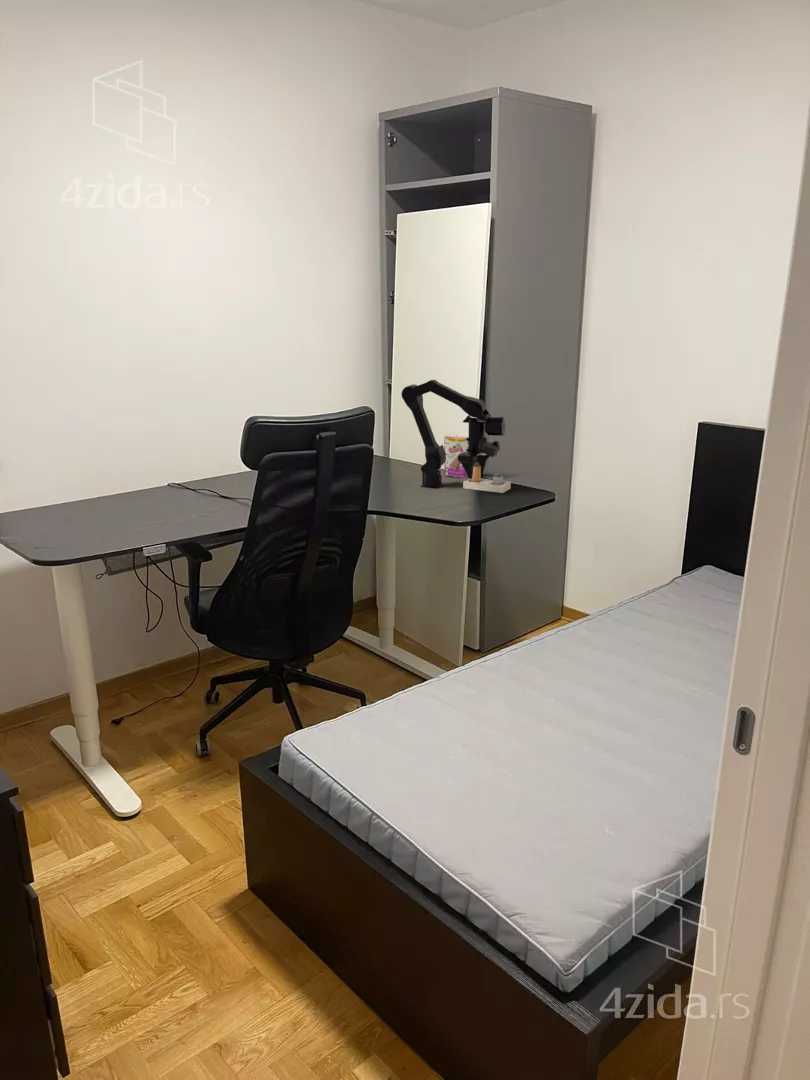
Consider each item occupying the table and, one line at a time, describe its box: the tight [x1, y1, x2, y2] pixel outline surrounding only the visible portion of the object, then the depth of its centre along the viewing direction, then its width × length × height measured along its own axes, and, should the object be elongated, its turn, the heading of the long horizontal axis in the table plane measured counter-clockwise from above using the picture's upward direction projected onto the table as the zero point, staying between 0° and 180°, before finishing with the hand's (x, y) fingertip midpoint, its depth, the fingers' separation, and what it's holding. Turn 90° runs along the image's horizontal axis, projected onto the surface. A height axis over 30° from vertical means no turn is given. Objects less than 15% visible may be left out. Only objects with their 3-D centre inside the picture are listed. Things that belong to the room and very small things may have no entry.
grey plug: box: [492, 472, 504, 485], centre depth 288 cm, size 4×4×6 cm
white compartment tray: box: [462, 478, 512, 494], centre depth 291 cm, size 16×7×4 cm, turn 59°
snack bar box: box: [443, 434, 468, 479], centre depth 311 cm, size 11×5×16 cm, turn 58°
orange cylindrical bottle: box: [471, 462, 482, 483], centre depth 292 cm, size 4×4×9 cm
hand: (476, 476), depth 292 cm, fingers open, 9 cm apart
